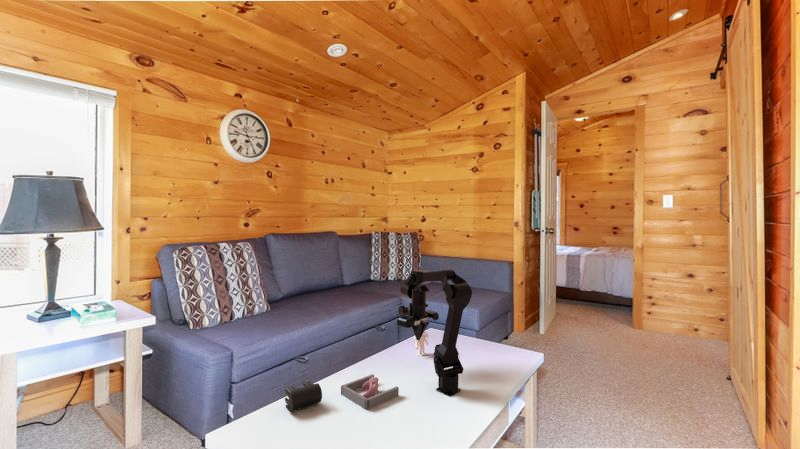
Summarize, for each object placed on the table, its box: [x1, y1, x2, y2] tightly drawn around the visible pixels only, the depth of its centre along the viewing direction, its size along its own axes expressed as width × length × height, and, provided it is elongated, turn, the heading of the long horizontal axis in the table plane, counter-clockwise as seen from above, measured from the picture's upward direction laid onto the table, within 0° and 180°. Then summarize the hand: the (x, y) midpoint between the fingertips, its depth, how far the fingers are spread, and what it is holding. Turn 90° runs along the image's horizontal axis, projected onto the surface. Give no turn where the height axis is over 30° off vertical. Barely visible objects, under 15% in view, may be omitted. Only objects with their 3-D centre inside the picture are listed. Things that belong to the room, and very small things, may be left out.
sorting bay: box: [340, 374, 400, 411], centre depth 132 cm, size 14×14×3 cm
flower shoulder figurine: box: [413, 330, 429, 357], centre depth 170 cm, size 9×4×12 cm, turn 141°
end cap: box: [284, 381, 323, 413], centre depth 123 cm, size 10×7×7 cm
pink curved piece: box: [361, 376, 379, 398], centre depth 131 cm, size 10×5×7 cm, turn 3°
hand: (418, 339), depth 154 cm, fingers closed
